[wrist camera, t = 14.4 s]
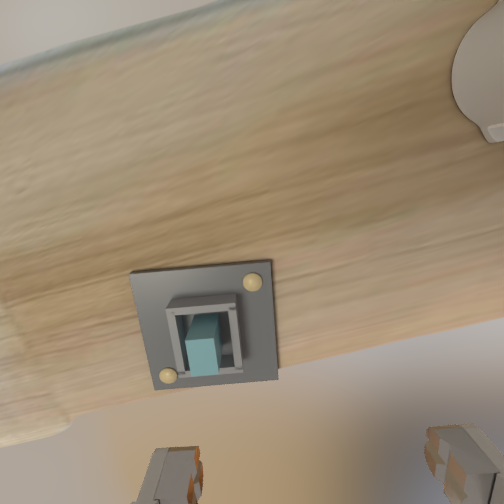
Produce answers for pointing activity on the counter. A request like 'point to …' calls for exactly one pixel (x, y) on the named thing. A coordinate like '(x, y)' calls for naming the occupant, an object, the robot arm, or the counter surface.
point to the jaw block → (204, 345)
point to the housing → (208, 302)
